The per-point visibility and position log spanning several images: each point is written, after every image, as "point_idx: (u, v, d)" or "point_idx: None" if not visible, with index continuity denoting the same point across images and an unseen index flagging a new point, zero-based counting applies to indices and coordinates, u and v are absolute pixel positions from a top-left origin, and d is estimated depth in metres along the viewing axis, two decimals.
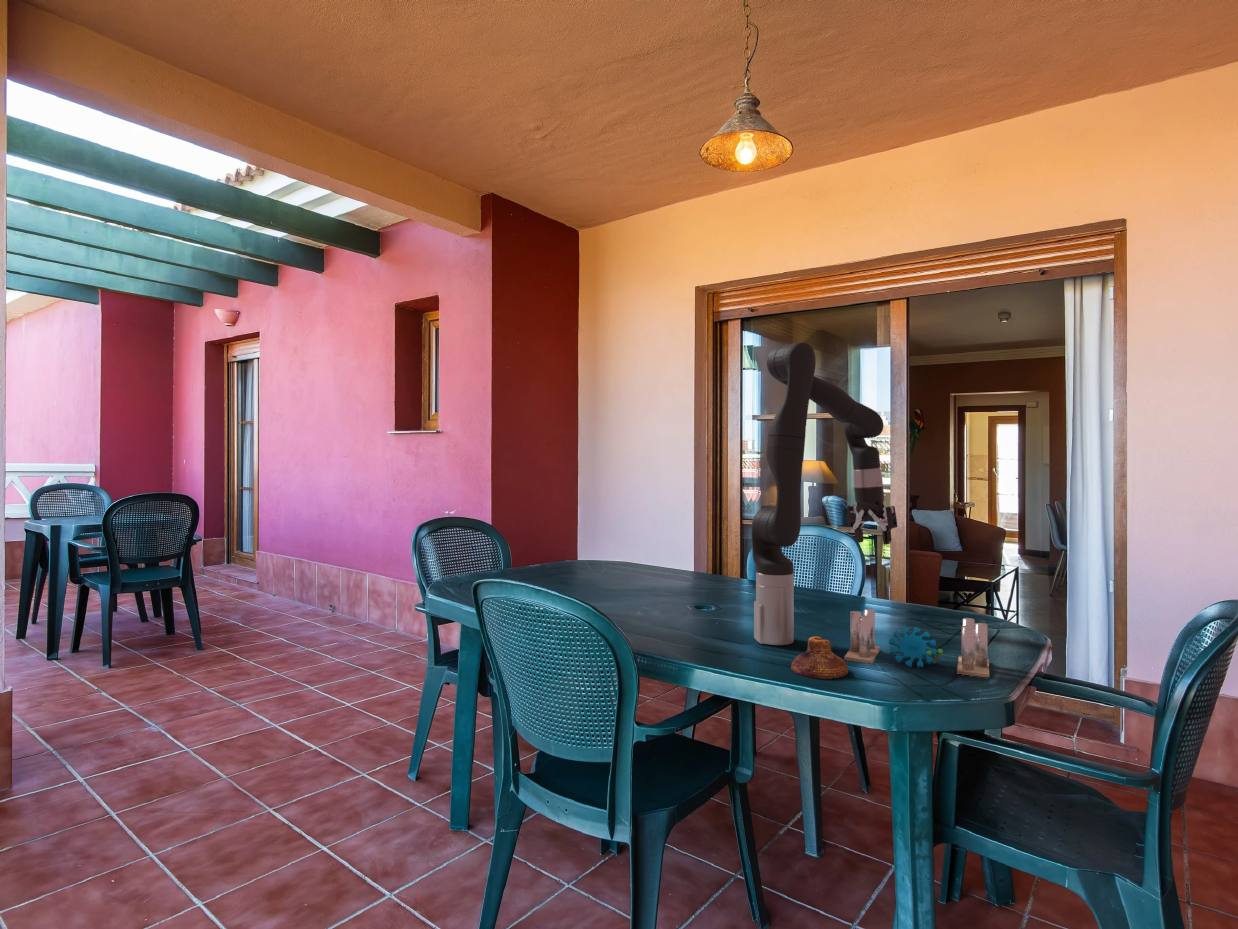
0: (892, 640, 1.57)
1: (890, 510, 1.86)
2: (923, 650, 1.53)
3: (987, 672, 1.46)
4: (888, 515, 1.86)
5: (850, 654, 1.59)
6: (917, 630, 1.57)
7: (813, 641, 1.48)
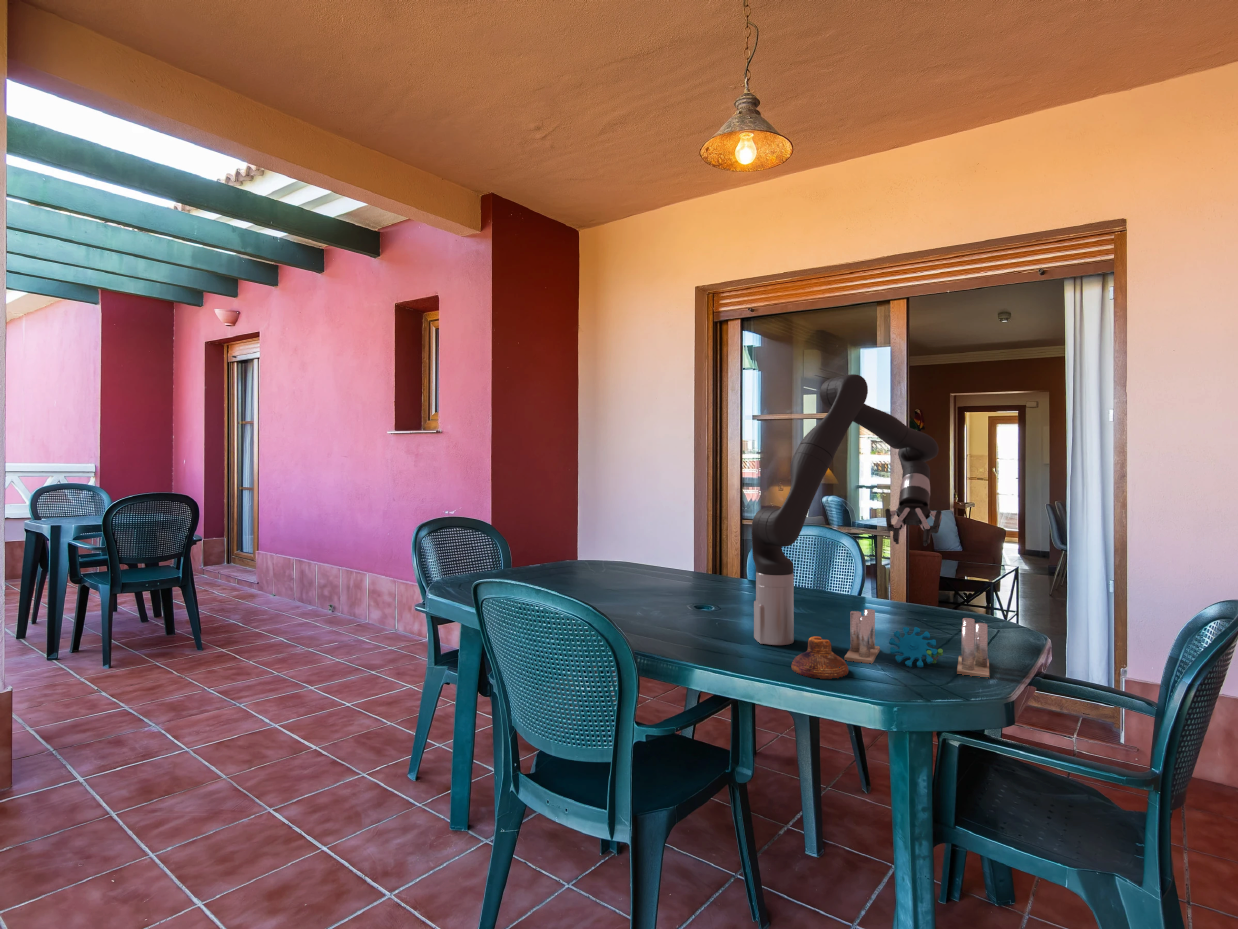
0: (892, 640, 1.57)
1: (941, 514, 1.79)
2: (923, 650, 1.53)
3: (987, 672, 1.46)
4: (937, 516, 1.78)
5: (850, 654, 1.59)
6: (917, 630, 1.57)
7: (813, 641, 1.48)
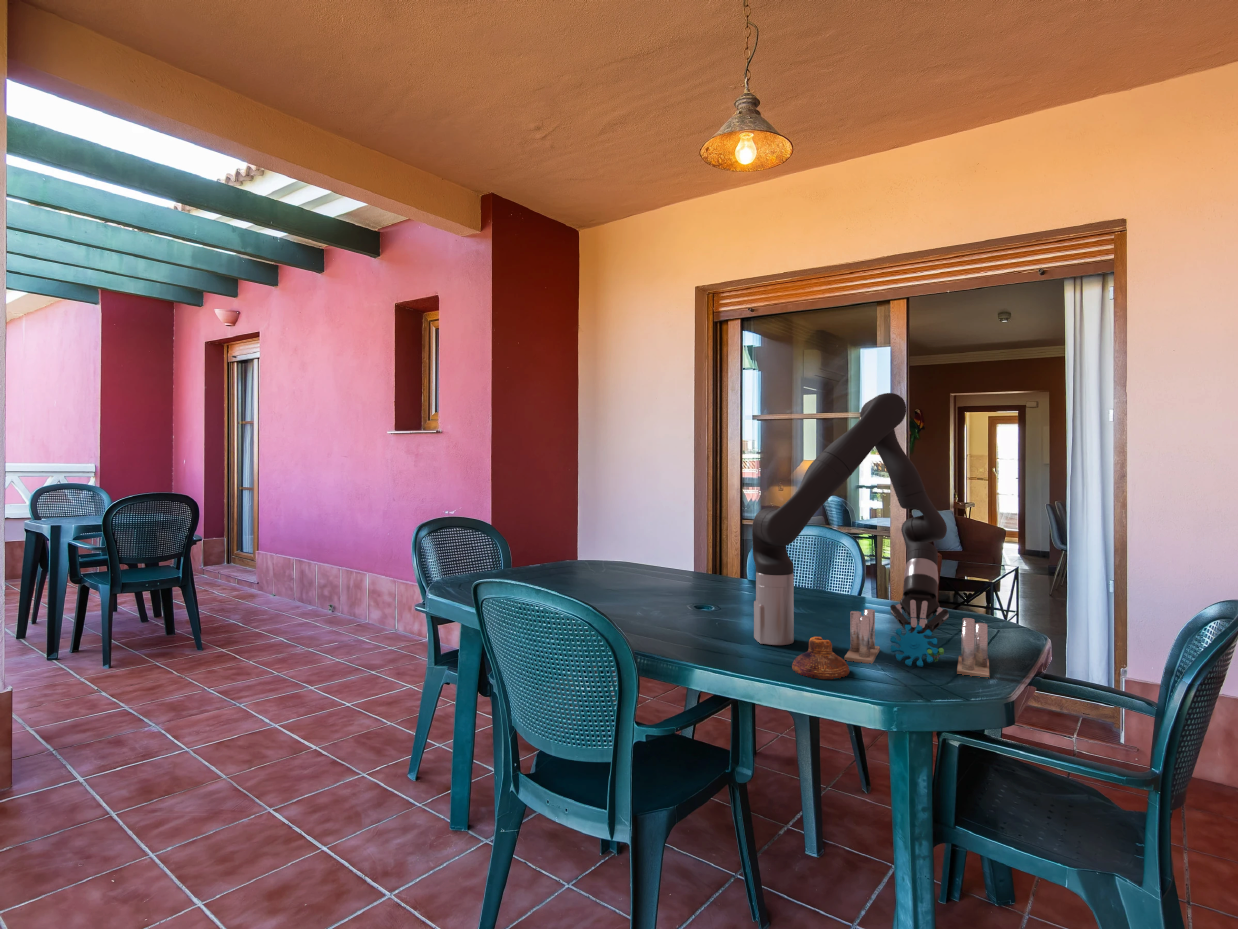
0: (893, 638, 1.57)
1: (946, 614, 1.58)
2: (924, 649, 1.53)
3: (987, 672, 1.46)
4: (939, 616, 1.58)
5: (850, 654, 1.59)
6: (919, 628, 1.56)
7: (814, 641, 1.48)
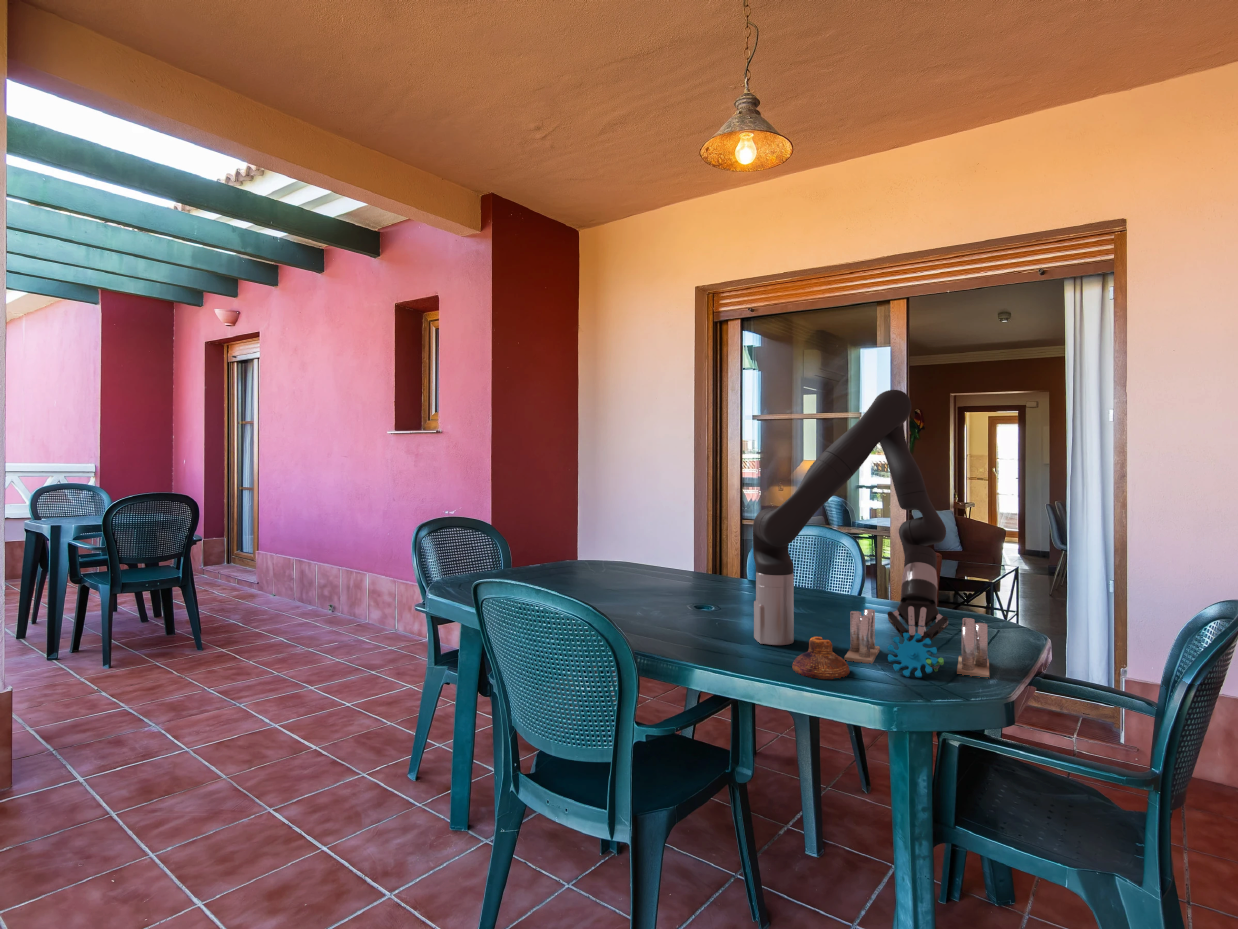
0: (891, 647, 1.49)
1: (945, 622, 1.50)
2: (923, 659, 1.45)
3: (987, 672, 1.46)
4: (939, 623, 1.50)
5: (850, 654, 1.59)
6: (918, 636, 1.49)
7: (814, 641, 1.48)
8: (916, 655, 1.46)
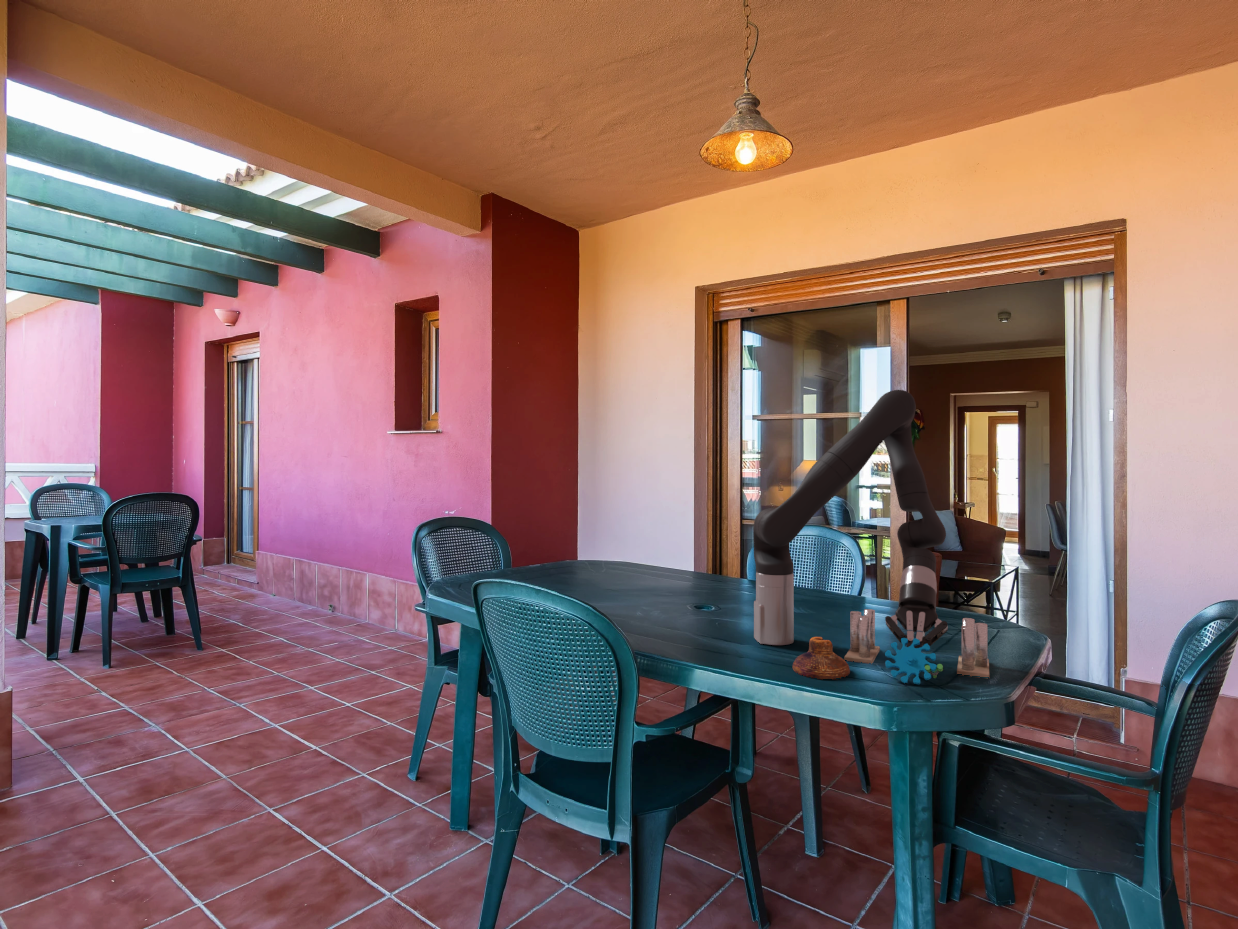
0: (888, 652, 1.45)
1: (945, 627, 1.46)
2: (921, 665, 1.41)
3: (987, 672, 1.46)
4: (938, 628, 1.46)
5: (850, 654, 1.59)
6: (916, 642, 1.44)
7: (814, 641, 1.48)
8: (914, 661, 1.42)
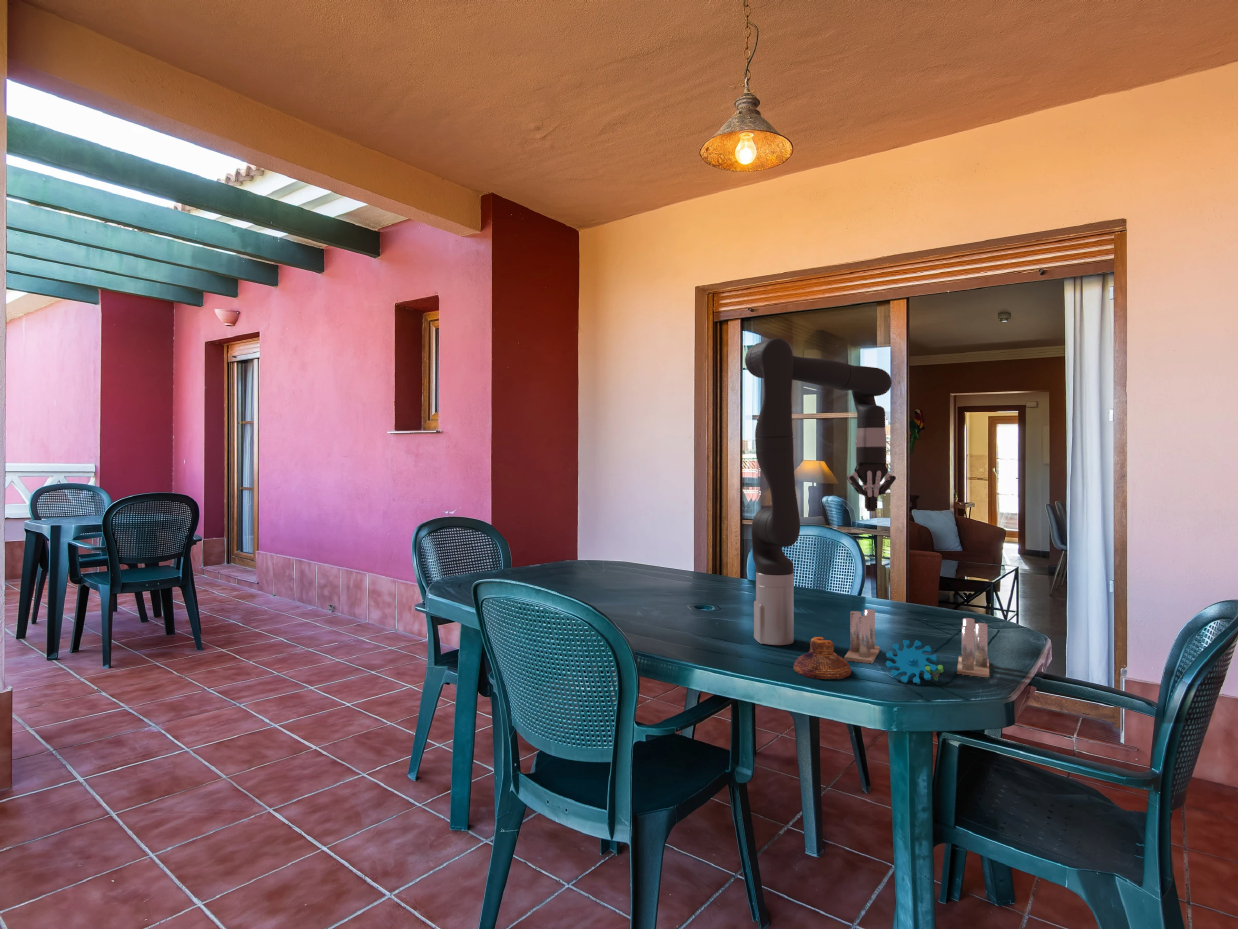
0: (890, 653, 1.46)
1: None
2: (921, 665, 1.42)
3: (987, 672, 1.46)
4: (889, 483, 1.83)
5: (850, 654, 1.59)
6: (918, 644, 1.45)
7: (816, 642, 1.48)
8: (915, 662, 1.43)
